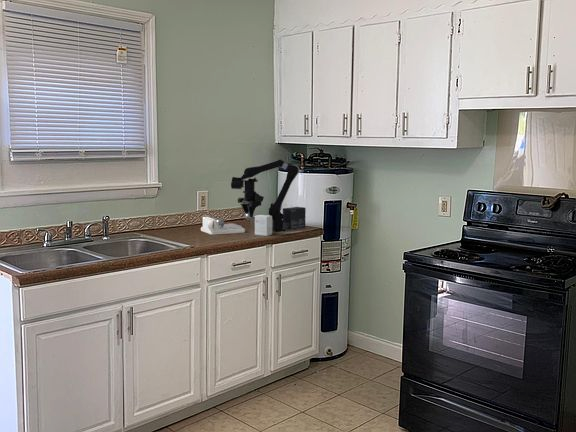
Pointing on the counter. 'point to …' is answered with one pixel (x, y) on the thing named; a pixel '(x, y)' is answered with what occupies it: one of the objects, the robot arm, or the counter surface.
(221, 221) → the spacer on pan
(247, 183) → the robot arm
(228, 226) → the pan
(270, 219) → the small box
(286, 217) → the small box
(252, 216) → the steel cup
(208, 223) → the scale
